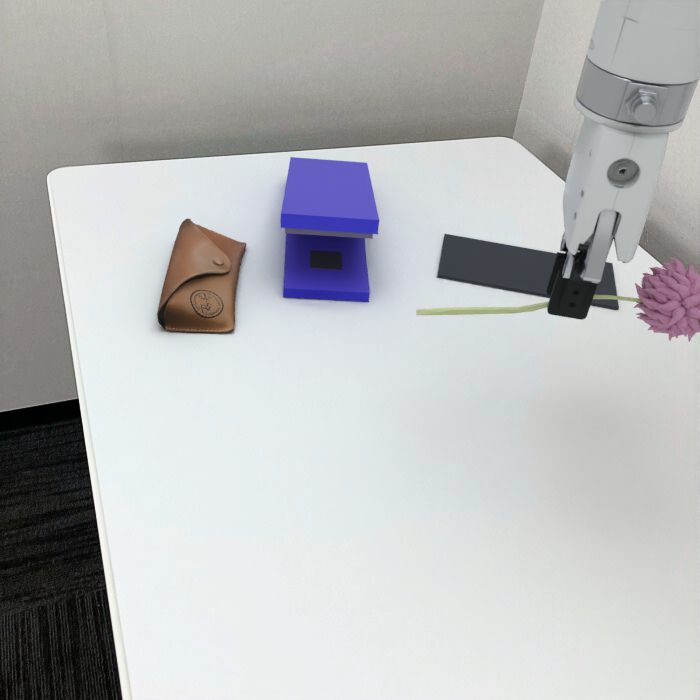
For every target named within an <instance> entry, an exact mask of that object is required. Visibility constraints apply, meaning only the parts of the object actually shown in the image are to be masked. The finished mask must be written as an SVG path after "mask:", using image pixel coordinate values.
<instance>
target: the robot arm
mask: <svg viewBox="0 0 700 700" xmlns="http://www.w3.org/2000/svg"><path fill="white" fill-rule="evenodd" d="M699 81H700V0H600V3H599V7H598V11H597V14H596V18H595V22H594V25H593V29H592V33H591V37H590V39H589V43H588V48H587V51H586V55H585V58H584V61H583V65H582V69H581V72H580V75H579V81H578V84H577V86H576V87H577V88H576V91H575V94H574V99H573V106H574V108H575V109H576V110H577V112H579V113H580V114H581V115H583V120H582V123H581V127H580V129H579V133H578V136H577V138H576V139H577V140H576V143H575V146H574V149H573V153H572V156H571V160H570V164H569V167H568V171H567V175H566V179H565V183H564V189H563V193H562V194H563V195H562V214H563V228H564V231H563V233H562V237H561V240H560V246H559V250H560V252H559V251H557V252H556V253H557V254H556V258H555V261H554V265H553V268H552V271H551V275H550V278H549V281H548V285H547V294H548V295H550V298H549V300H548V302H549V303H548V306H547V308H546V310H547V314H548V315H551V316H559V317H562V318H570V319H574V320H575V319H576V320H581V321H582V320H585V319H587V317H588V314H589V311H590V308H591V306H592V305H591V303H592V300H593V297H594V294H595V291H596V288H597V285H598V283H600V281H601V279H602V275H603V271H604V266H605V262H607V259H608V256H609V253H610V251H611V248H612V245H613V242H614V248H615V253H616V260H617V261H618V262H622V263H623V264H628V263H630V262H632V260H634V258H635V255H636V252H637V250H638V247H639V244H640V240H641V237H642V235H643V232H644V227H645V225H646V221H647V219H648V216H649V212H650V209H651V206H652V203H653V199H654V196H655V193H656V189H657V186H658V183H659V179H660V175H661V172H662V168H663V163H664V160H665V156H666V151H667V145H668V141H669V136H670V133H672V132H675V131H677V130H679V129H680V128H681V127H682V126H683V124H684V121H685V119H686V116H687V113H688V110H689V108H690V106H691V102H692V101H693V97H694V94H695V92H696V88H697V86H698V83H699Z"/></svg>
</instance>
